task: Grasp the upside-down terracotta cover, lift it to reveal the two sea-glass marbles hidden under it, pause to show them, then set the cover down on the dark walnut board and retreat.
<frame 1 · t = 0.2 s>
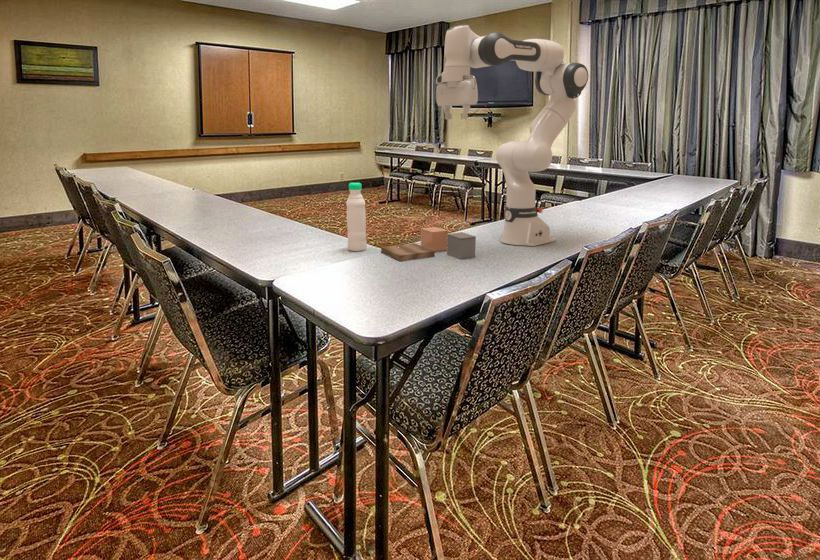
hand: (456, 119, 181), 47 cm above the table, fingers open, 8 cm apart
charcoal cover: (460, 255, 187), on the table
terracotta cover: (433, 248, 197), on the table
marble a: (431, 247, 199), on the table
walnut board: (407, 254, 189), on the table
marble b: (436, 249, 196), on the table
water bottle: (357, 250, 196), on the table
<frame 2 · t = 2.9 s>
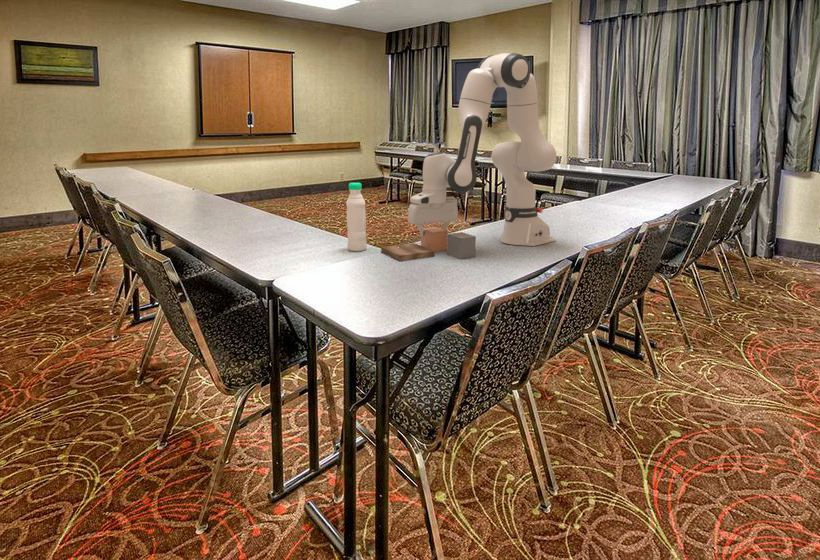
hand: (433, 234, 195), 6 cm above the table, fingers open, 8 cm apart
nothing on the table moved.
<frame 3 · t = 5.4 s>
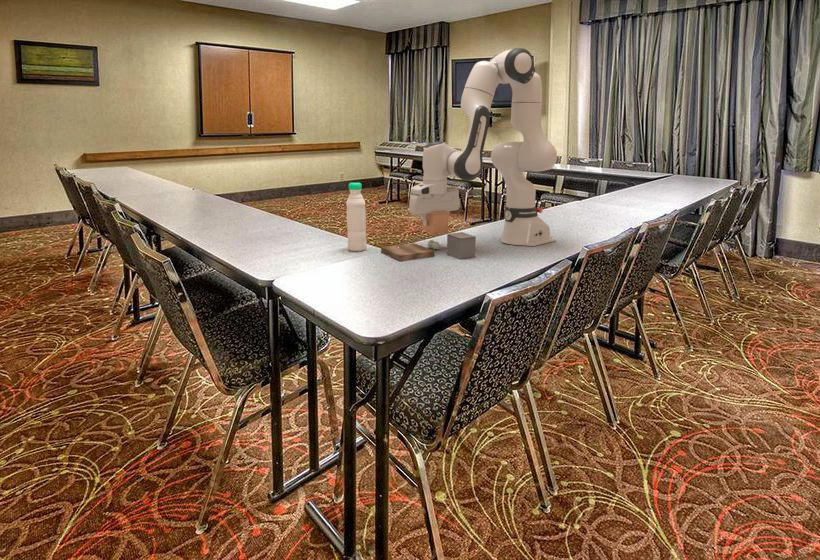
hand: (435, 224, 195), 9 cm above the table, fingers closed on terracotta cover, 6 cm apart
terracotta cover: (435, 230, 196), point 7 cm above the table, touching gripper
marble b: (436, 249, 196), on the table, tilted 24°
everything else where it was.
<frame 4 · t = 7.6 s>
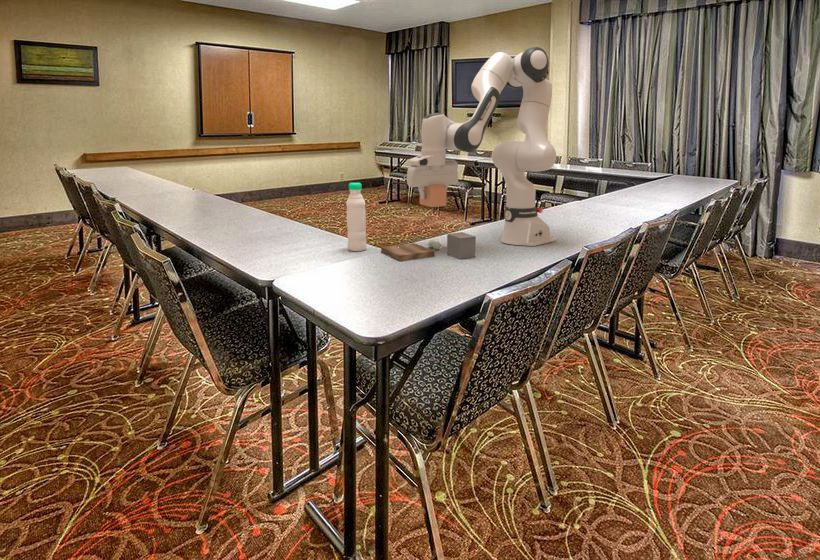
hand: (432, 198, 191), 19 cm above the table, fingers closed on terracotta cover, 6 cm apart
terracotta cover: (432, 205, 192), point 17 cm above the table, touching gripper
marble a: (431, 247, 199), on the table, tilted 24°
marble b: (436, 249, 196), on the table, tilted 31°
everything else where it was.
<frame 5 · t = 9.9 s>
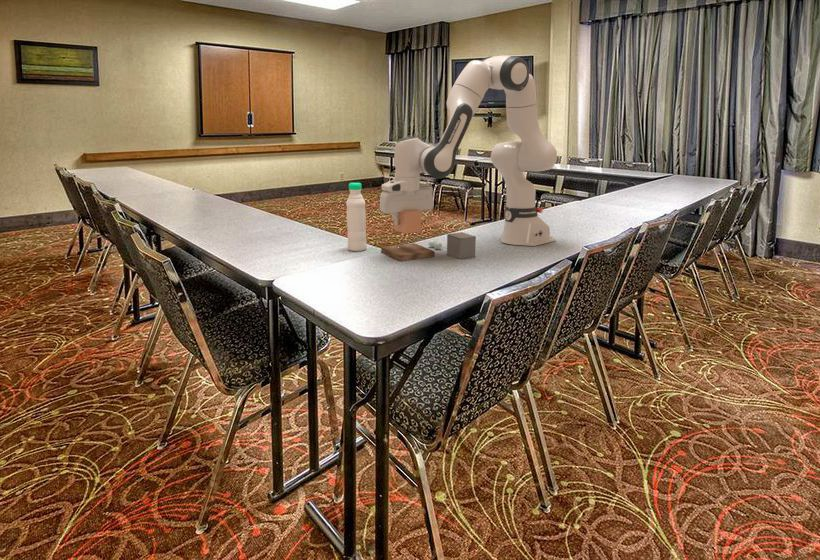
hand: (407, 223, 185), 11 cm above the table, fingers closed on terracotta cover, 6 cm apart
terracotta cover: (407, 230, 186), point 9 cm above the table, touching gripper
marble a: (431, 246, 199), on the table, tilted 45°
marble b: (436, 248, 196), on the table, tilted 43°
everything else where it was.
when the fingers open (6 cm above the table, at t = 11.8 s): terracotta cover drops 1 cm, resting on walnut board.
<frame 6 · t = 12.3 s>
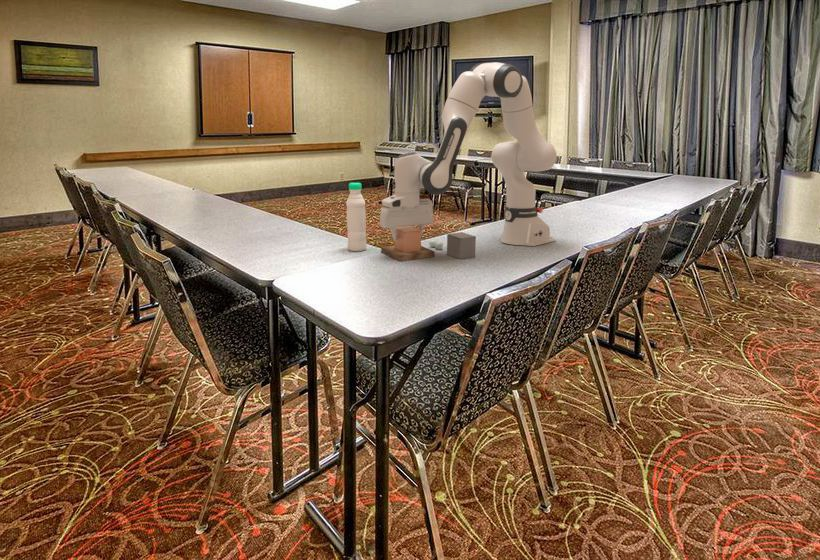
hand: (407, 238, 187), 6 cm above the table, fingers open, 8 cm apart
terracotta cover: (407, 249, 188), point 2 cm above the table, touching walnut board
marble a: (431, 245, 199), point 1 cm above the table, tilted 66°
marble b: (437, 247, 196), point 1 cm above the table, tilted 58°
everything else where it was.
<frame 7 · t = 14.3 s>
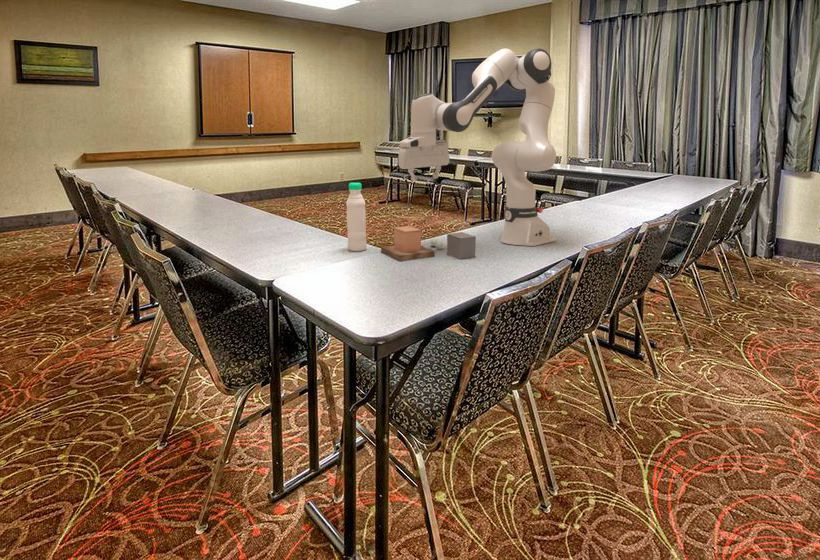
hand: (424, 179, 193), 26 cm above the table, fingers open, 8 cm apart
marble a: (432, 244, 199), point 1 cm above the table, tilted 84°
marble b: (437, 247, 195), point 1 cm above the table, tilted 71°
everything else where it was.
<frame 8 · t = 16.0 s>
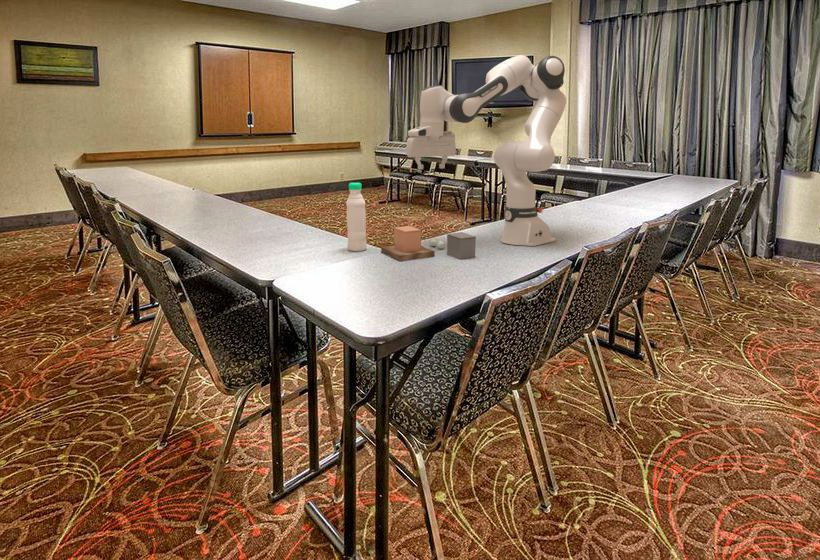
hand: (431, 168, 198), 29 cm above the table, fingers open, 8 cm apart
marble a: (432, 242, 199), point 2 cm above the table, tilted 99°
marble b: (438, 246, 196), point 1 cm above the table, tilted 82°
everything else where it was.
at the end: terracotta cover inside the target area on the walnut board (0.1 cm from its centre), point 2.0 cm above the walnut board's base; terracotta cover tilted 0°; charcoal cover moved 0.0 cm from its start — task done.
